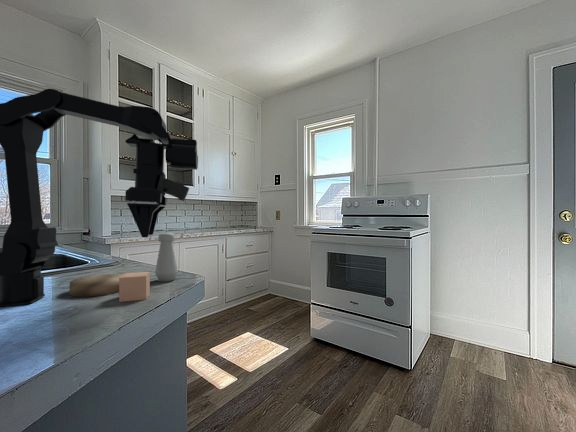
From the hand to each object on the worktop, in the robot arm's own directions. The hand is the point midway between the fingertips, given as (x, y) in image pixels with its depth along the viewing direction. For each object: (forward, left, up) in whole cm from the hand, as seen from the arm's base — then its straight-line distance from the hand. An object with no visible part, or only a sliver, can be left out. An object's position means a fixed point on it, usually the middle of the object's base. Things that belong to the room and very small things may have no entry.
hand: (147, 236), depth 63 cm
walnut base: (-11, +8, -13) cm, 19 cm away
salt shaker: (+3, +14, -13) cm, 20 cm away
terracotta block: (-2, -2, -13) cm, 13 cm away
